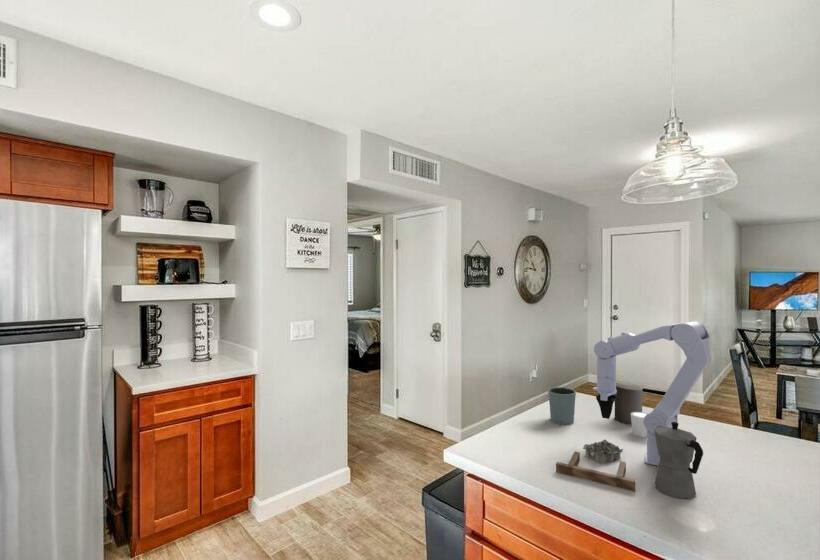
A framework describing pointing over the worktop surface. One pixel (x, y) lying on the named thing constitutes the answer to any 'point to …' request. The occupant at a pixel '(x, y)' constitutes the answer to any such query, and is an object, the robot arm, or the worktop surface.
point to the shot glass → (638, 424)
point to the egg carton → (599, 455)
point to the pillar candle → (627, 401)
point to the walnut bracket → (596, 473)
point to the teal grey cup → (562, 405)
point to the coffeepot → (676, 461)
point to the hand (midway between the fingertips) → (606, 416)
